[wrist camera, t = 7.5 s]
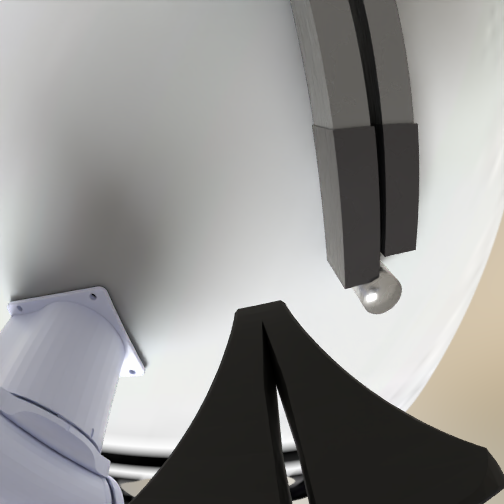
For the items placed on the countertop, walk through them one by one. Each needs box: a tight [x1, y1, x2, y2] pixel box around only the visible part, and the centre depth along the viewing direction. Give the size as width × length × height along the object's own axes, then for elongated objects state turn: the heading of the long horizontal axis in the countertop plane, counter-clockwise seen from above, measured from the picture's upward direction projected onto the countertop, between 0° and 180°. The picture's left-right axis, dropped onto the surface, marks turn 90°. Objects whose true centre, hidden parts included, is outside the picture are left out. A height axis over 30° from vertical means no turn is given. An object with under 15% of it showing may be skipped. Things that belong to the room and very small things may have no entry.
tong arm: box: [290, 0, 402, 314], centre depth 13 cm, size 22×4×3 cm, turn 10°
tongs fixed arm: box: [348, 0, 419, 256], centre depth 13 cm, size 19×3×3 cm, turn 9°
